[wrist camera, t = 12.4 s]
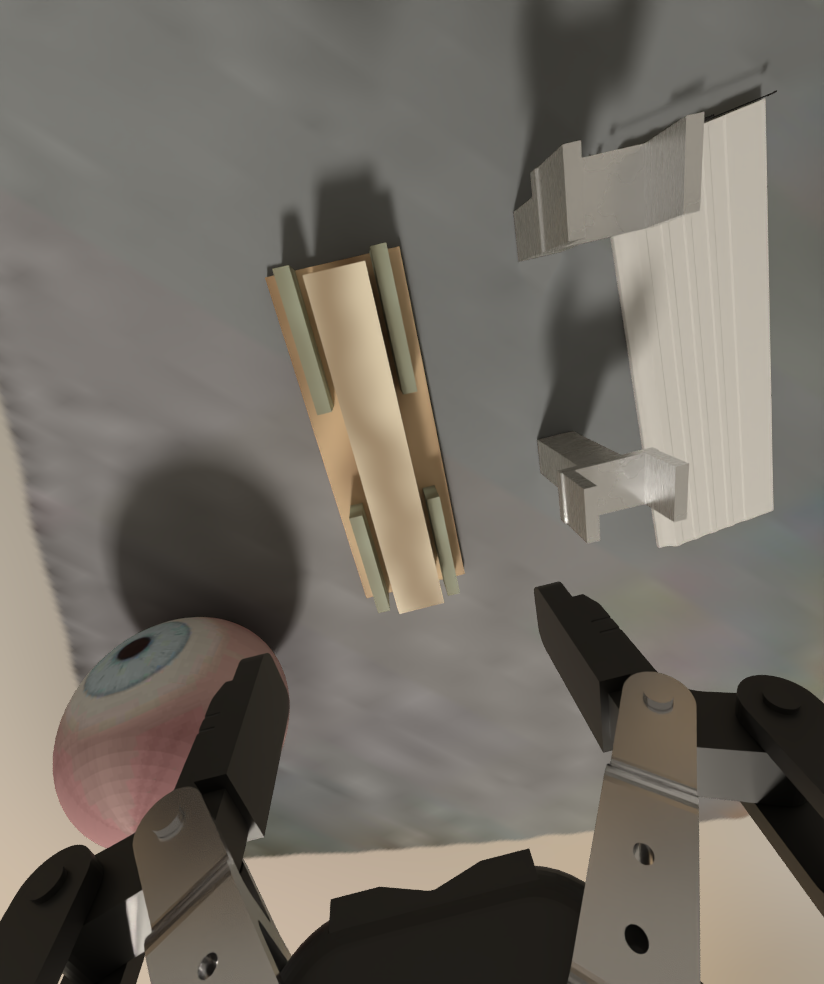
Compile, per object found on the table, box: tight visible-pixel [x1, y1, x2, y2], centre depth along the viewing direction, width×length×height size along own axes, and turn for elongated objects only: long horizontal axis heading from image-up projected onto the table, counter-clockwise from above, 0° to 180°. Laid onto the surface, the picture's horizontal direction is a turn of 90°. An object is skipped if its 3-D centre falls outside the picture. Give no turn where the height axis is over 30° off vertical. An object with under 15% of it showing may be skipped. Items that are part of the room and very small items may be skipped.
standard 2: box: [537, 431, 689, 544], centre depth 29 cm, size 6×4×11 cm, turn 102°
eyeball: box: [53, 617, 290, 848], centre depth 31 cm, size 15×15×15 cm
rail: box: [302, 261, 444, 614], centre depth 30 cm, size 4×24×5 cm, turn 12°
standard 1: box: [513, 112, 704, 262], centre depth 23 cm, size 6×4×11 cm, turn 102°
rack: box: [265, 243, 465, 613], centre depth 31 cm, size 9×26×3 cm, turn 12°
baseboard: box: [610, 90, 777, 548], centre depth 32 cm, size 31×3×12 cm
